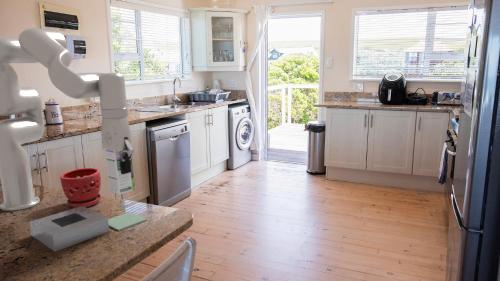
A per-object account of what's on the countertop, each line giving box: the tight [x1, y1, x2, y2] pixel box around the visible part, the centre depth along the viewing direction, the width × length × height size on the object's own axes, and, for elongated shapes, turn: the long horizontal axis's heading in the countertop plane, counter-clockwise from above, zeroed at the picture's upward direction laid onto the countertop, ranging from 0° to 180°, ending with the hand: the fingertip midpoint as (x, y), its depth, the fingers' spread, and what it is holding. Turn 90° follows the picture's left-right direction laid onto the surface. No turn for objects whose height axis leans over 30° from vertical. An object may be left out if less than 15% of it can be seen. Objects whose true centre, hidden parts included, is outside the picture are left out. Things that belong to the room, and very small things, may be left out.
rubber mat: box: [108, 211, 148, 232], centre depth 123 cm, size 10×10×1 cm
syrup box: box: [104, 148, 136, 196], centre depth 119 cm, size 6×6×14 cm
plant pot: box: [59, 167, 102, 208], centre depth 139 cm, size 13×13×12 cm
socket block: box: [29, 206, 110, 252], centre depth 114 cm, size 16×16×4 cm
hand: (120, 171), depth 119 cm, fingers closed on syrup box, 5 cm apart
